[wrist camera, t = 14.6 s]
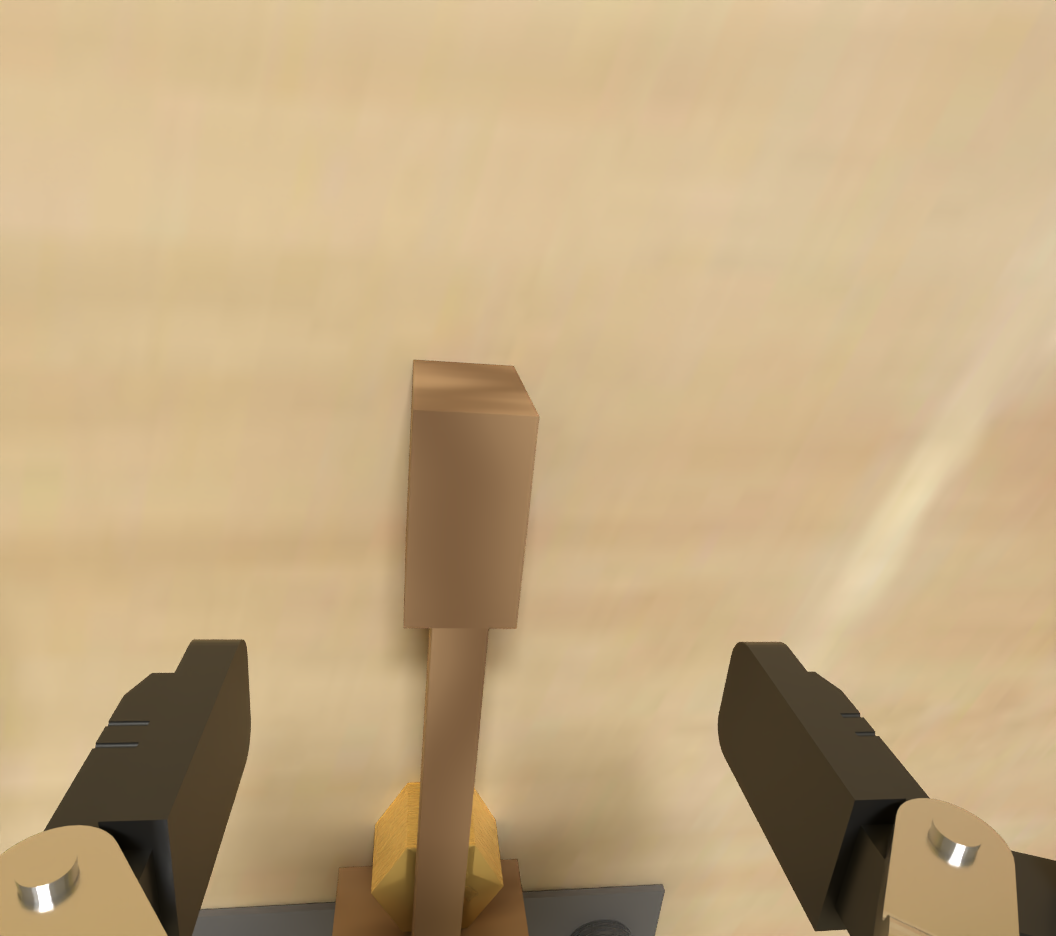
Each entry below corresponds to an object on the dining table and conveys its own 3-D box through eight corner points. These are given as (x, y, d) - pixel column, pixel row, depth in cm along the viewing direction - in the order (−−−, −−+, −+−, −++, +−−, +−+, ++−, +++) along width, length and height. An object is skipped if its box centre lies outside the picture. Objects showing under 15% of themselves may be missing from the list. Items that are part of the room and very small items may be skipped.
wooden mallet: (578, 369, 23) (619, 420, 18) (513, 885, 31) (531, 1011, 26) (344, 355, 22) (325, 405, 17) (339, 895, 29) (325, 1029, 25)
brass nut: (499, 778, 28) (508, 844, 26) (491, 856, 30) (499, 927, 27) (376, 782, 28) (372, 851, 25) (374, 861, 29) (369, 935, 26)
